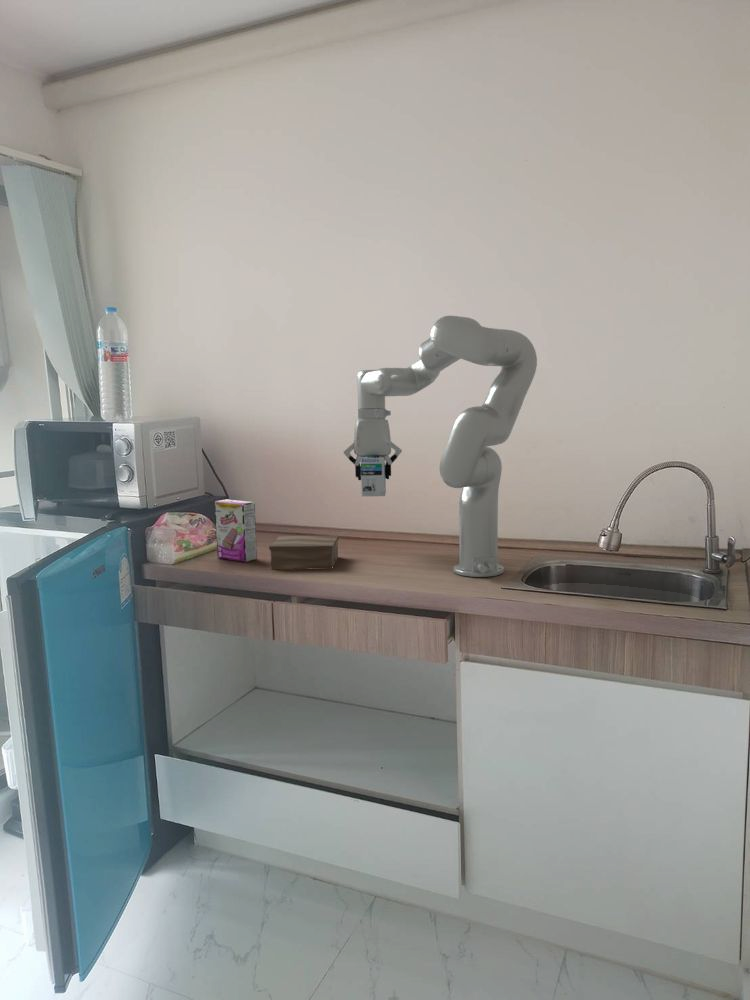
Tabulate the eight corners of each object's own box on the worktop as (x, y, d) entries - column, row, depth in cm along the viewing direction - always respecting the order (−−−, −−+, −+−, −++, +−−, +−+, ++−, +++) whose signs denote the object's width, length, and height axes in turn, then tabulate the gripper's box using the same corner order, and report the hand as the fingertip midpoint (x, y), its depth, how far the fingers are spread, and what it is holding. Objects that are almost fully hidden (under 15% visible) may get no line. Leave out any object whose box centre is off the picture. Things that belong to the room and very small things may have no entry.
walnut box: (333, 570, 190) (332, 545, 190) (270, 570, 191) (269, 546, 191) (339, 558, 205) (338, 535, 204) (280, 558, 206) (279, 535, 205)
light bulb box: (385, 496, 199) (384, 457, 198) (360, 497, 199) (359, 457, 198) (385, 491, 210) (385, 454, 208) (362, 492, 210) (361, 454, 208)
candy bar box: (216, 558, 206) (213, 501, 204) (229, 555, 210) (226, 498, 208) (245, 563, 200) (242, 503, 197) (258, 559, 204) (255, 501, 202)
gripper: (401, 414, 206) (402, 476, 209) (339, 415, 204) (341, 478, 207) (405, 414, 199) (406, 479, 201) (341, 416, 197) (343, 481, 199)
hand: (373, 478), depth 204 cm, fingers closed on light bulb box, 7 cm apart
